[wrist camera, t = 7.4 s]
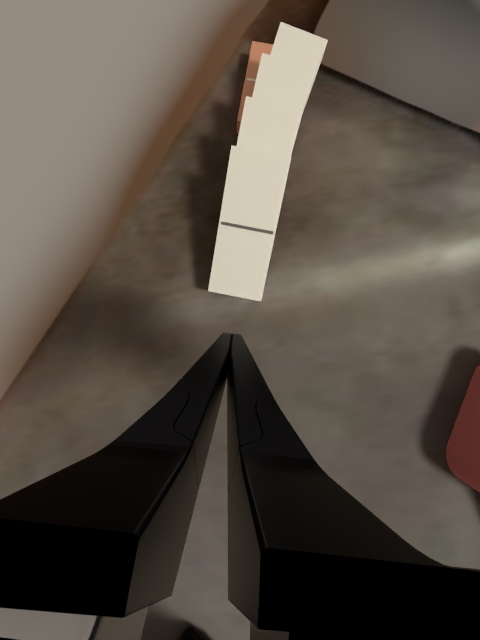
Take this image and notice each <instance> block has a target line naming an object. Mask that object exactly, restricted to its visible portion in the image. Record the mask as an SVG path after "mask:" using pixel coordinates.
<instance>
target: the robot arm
mask: <svg viewBox="0 0 480 640" xmlns="http://www.w3.org/2000/svg"><path fill="white" fill-rule="evenodd" d="M227 374H228V375H227ZM226 380H227V450H228V600H229V601H230V602H231V603H232V604H233V605H234V606H235V607H236V608H237V609H238V610H239V611H240V612H241V613H242V614H243V615H244V616H245V617H247V618H248V619H249V620H250V640H480V570H478V569H471V568H460V567H450V566H447V565H443V564H441V563H439V562H437V561H435V560H433V559H431V558H429V557H428V556H426V555H424V554H423V553H421V552H420V551H418V550H417V549H415V548H414V547H413V546H411V545H410V544H409V543H408V542H406V541H405V540H404V539H402V538H401V537H400V536H399V535H398V534H396V533H395V532H394V531H393V530H392V529H391V528H389V527H388V526H387V525H386V524H385V523H383V522H382V521H381V520H380V519H379V518H378V517H376V516H375V515H374V514H373V513H372V512H370V511H369V510H368V509H367V508H366V507H365V506H363V505H362V504H361V503H360V502H359V501H357V500H356V499H355V498H354V497H353V496H352V495H350V494H349V493H348V492H347V491H346V490H344V489H343V488H342V487H341V486H340V485H339V484H337V483H336V482H335V481H334V480H333V479H332V478H330V477H329V476H328V475H327V474H326V473H325V472H324V471H323V470H322V468H321V467H320V466H319V465H318V464H317V462H316V461H315V460H314V459H313V457H312V456H311V454H310V453H309V451H308V450H307V448H306V447H305V445H304V444H303V442H302V441H301V439H300V438H299V437H298V435H297V434H296V432H295V431H294V429H293V428H292V426H291V425H290V423H289V422H288V420H287V419H286V417H285V415H284V414H283V412H282V411H281V409H280V408H279V406H278V404H277V402H276V401H275V399H274V397H273V395H272V393H271V391H270V389H269V388H268V386H267V384H266V382H265V380H264V378H263V376H262V374H261V372H260V370H259V368H258V367H257V365H256V363H255V361H254V359H253V357H252V355H251V353H250V351H249V349H248V347H247V345H246V343H245V342H244V340H243V338H242V336H241V335H240V334H231V333H223V334H222V335H221V336H220V337H219V338H218V339H217V340H216V341H215V342H214V343H213V345H212V346H211V347H210V348H209V349H208V350H207V351H206V352H205V353H204V354H203V355H202V357H201V358H200V359H199V360H198V361H197V362H196V363H195V364H194V365H193V366H192V367H191V369H190V370H189V371H188V372H187V373H186V374H185V375H184V376H183V377H182V379H180V380H179V381H178V383H177V384H176V385H175V386H174V387H173V388H172V389H171V390H170V391H169V392H168V393H167V394H166V395H165V396H164V397H163V398H162V399H161V400H160V401H159V402H157V403H156V404H155V405H154V406H153V407H152V408H151V409H150V410H149V411H147V412H146V413H145V414H144V415H143V416H142V417H141V418H139V419H138V420H137V421H136V422H135V423H134V424H133V425H132V426H130V427H129V428H128V429H127V430H126V431H125V432H124V433H122V434H121V435H120V436H119V437H118V438H117V439H115V440H114V441H113V442H111V443H110V444H109V445H107V446H106V447H104V448H103V449H101V450H100V451H98V452H96V453H95V454H93V455H91V456H89V457H87V458H85V459H83V460H81V461H79V462H77V463H74V464H72V465H70V466H68V467H66V468H64V469H62V470H60V471H58V472H56V473H54V474H52V475H50V476H48V477H46V478H44V479H42V480H40V481H37V482H35V483H33V484H31V485H29V486H27V487H25V488H23V489H21V490H19V491H17V492H15V493H13V494H11V495H9V496H7V497H5V498H3V499H0V640H141V635H142V631H143V627H144V623H145V619H146V615H147V611H148V607H149V606H150V605H152V604H154V603H156V602H158V601H161V600H163V599H165V598H167V597H169V596H171V595H172V592H173V588H174V584H175V580H176V576H177V573H178V569H179V565H180V561H181V557H182V553H183V549H184V545H185V541H186V537H187V533H188V529H189V525H190V521H191V518H192V514H193V510H194V506H195V502H196V498H197V494H198V490H199V486H200V482H201V478H202V474H203V470H204V466H205V462H206V459H207V455H208V451H209V447H210V443H211V439H212V435H213V431H214V427H215V423H216V419H217V415H218V411H219V407H220V404H221V400H222V396H223V392H224V388H225V384H226ZM179 640H203V639H202V638H201V636H200V635H199V634H198V633H197V632H196V631H195V630H194V629H192V628H189V629H187V630H186V631H185V632H184V634H183V635H182V636H181V638H180V639H179Z"/></svg>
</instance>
